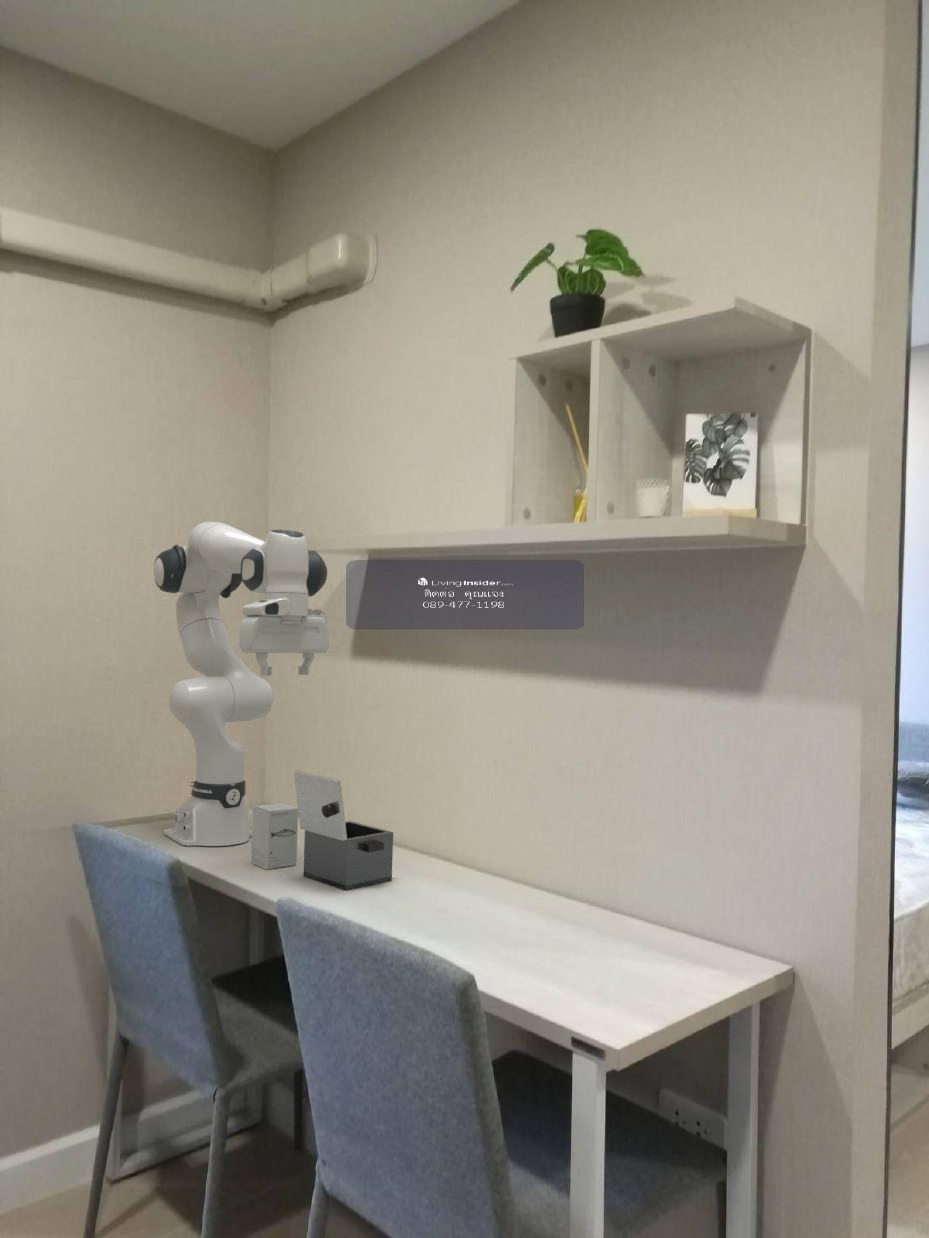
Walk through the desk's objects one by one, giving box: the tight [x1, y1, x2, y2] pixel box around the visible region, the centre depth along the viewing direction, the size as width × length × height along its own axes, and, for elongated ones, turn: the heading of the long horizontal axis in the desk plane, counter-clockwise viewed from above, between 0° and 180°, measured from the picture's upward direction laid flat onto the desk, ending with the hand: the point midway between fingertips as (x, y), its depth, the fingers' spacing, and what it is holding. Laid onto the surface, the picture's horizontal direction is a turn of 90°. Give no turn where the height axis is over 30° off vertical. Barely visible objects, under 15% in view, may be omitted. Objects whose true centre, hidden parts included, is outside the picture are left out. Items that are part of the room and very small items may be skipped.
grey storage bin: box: [303, 820, 394, 892], centre depth 204 cm, size 18×12×10 cm
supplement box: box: [250, 802, 299, 871], centre depth 214 cm, size 7×7×13 cm
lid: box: [293, 770, 347, 841], centre depth 198 cm, size 14×12×3 cm
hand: (285, 675), depth 203 cm, fingers open, 8 cm apart
